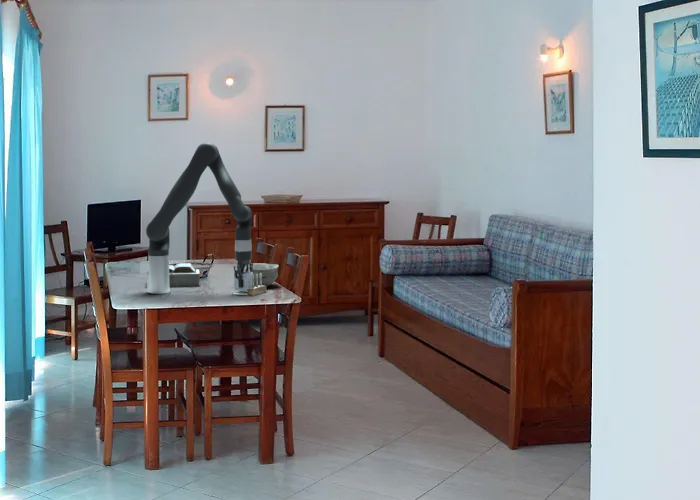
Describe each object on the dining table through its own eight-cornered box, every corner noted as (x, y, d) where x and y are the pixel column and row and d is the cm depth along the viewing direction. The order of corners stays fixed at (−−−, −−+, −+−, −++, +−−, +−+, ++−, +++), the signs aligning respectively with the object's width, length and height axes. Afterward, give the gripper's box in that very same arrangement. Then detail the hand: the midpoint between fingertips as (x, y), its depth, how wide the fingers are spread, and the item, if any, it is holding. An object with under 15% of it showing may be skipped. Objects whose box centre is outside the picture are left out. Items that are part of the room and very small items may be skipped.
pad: (232, 294, 410) (232, 293, 410) (243, 290, 419) (243, 290, 419) (247, 295, 407) (247, 294, 407) (258, 291, 416) (258, 291, 416)
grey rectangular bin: (197, 288, 429) (197, 268, 428) (141, 288, 429) (140, 268, 428) (206, 281, 452) (206, 262, 451) (152, 281, 453) (152, 262, 451)
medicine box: (253, 290, 413) (253, 272, 412) (247, 292, 409) (247, 273, 408) (240, 289, 417) (240, 270, 416) (234, 290, 413) (233, 272, 412)
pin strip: (247, 295, 406) (247, 275, 405) (260, 291, 416) (260, 272, 416) (253, 296, 404) (253, 276, 403) (266, 292, 415) (266, 272, 414)
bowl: (237, 290, 421) (237, 269, 420) (233, 284, 441) (233, 263, 440) (281, 288, 425) (281, 267, 424) (276, 282, 445) (276, 262, 444)
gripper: (243, 247, 419) (244, 284, 421) (228, 251, 406) (228, 288, 408) (258, 248, 416) (258, 285, 418) (242, 251, 403) (243, 289, 405)
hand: (243, 286), depth 413 cm, fingers closed on medicine box, 5 cm apart
